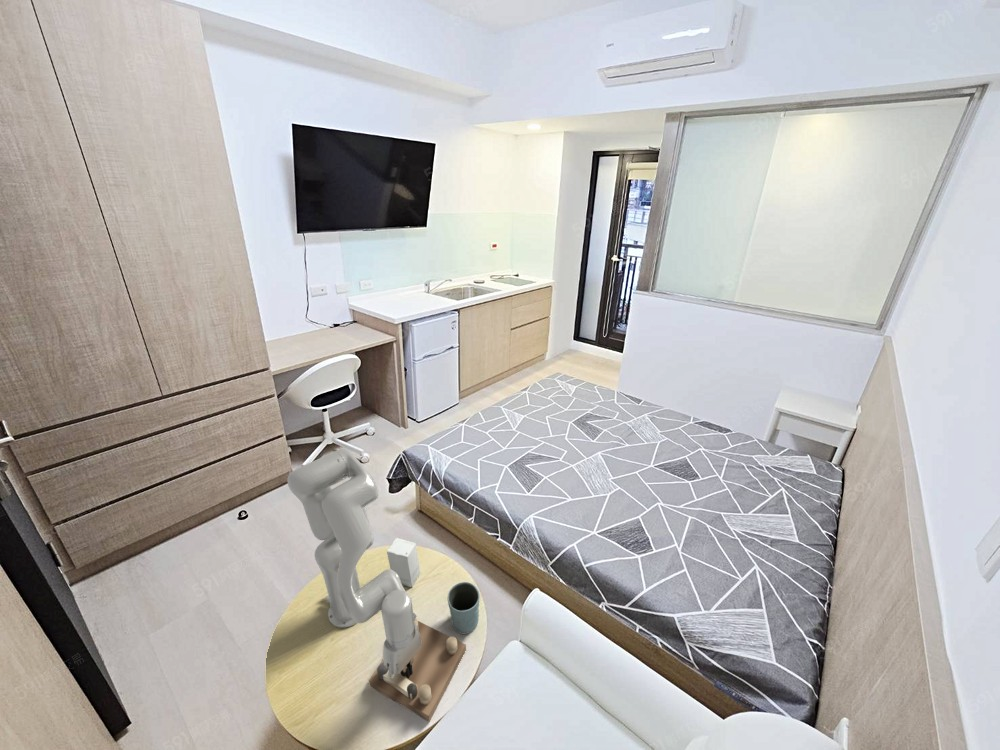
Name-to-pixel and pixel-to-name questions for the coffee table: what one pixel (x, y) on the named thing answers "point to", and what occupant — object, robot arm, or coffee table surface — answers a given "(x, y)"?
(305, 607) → the coffee table surface
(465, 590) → the teal cup
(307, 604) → the coffee table surface
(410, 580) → the skincare box
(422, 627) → the stool seat
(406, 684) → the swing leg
